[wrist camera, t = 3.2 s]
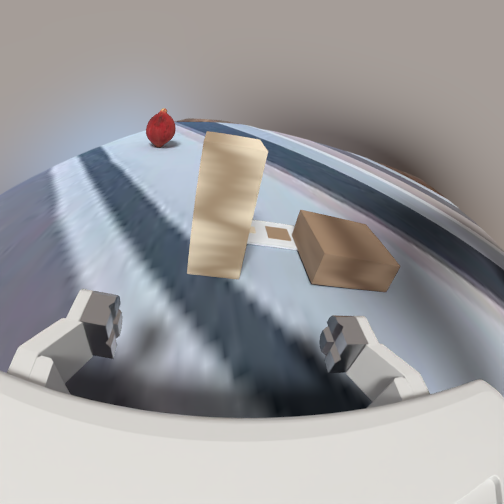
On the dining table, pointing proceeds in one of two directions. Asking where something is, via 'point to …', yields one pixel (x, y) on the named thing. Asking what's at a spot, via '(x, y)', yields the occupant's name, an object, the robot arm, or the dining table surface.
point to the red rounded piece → (160, 128)
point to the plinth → (342, 253)
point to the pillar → (225, 203)
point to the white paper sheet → (271, 235)
